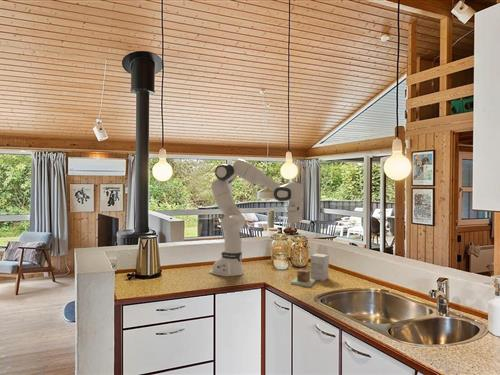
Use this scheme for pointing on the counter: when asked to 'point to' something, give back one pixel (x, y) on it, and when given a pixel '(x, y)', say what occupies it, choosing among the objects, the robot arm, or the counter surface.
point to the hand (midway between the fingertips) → (295, 229)
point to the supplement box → (319, 267)
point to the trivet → (303, 282)
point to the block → (303, 275)
